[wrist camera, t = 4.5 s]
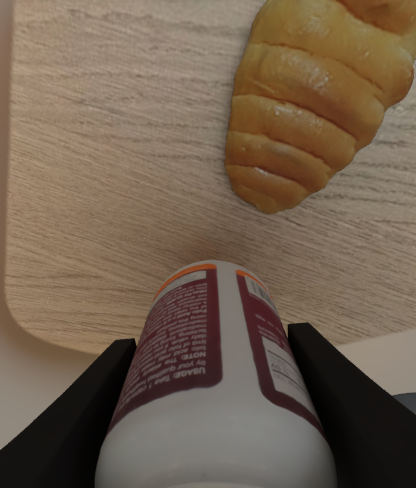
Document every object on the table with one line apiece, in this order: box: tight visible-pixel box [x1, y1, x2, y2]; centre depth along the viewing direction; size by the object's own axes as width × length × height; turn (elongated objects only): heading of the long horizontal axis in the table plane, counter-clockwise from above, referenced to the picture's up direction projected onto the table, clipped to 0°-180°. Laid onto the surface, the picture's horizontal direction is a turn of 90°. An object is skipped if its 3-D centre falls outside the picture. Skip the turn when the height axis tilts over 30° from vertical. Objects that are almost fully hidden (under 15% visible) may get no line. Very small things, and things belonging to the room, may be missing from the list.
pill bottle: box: [95, 260, 337, 488], centre depth 7 cm, size 5×5×8 cm
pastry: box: [224, 0, 416, 214], centre depth 12 cm, size 9×7×4 cm
